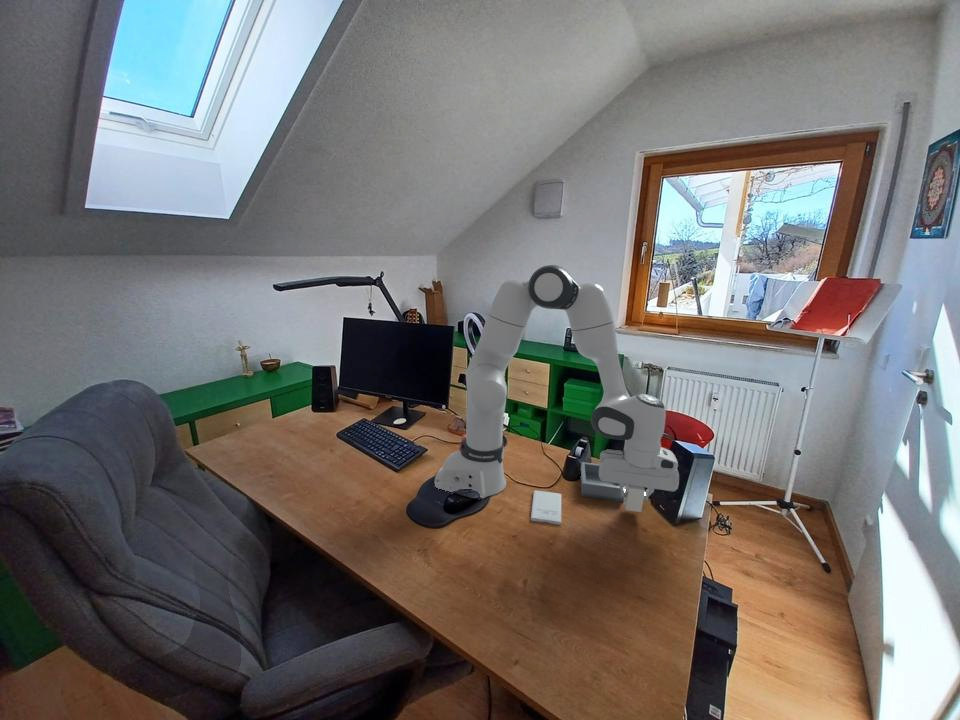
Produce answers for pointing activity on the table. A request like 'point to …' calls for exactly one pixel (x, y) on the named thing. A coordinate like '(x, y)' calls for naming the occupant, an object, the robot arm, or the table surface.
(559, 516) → the external hard drive
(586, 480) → the bin
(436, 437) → the table surface
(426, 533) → the table surface
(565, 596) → the table surface
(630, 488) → the cream block
